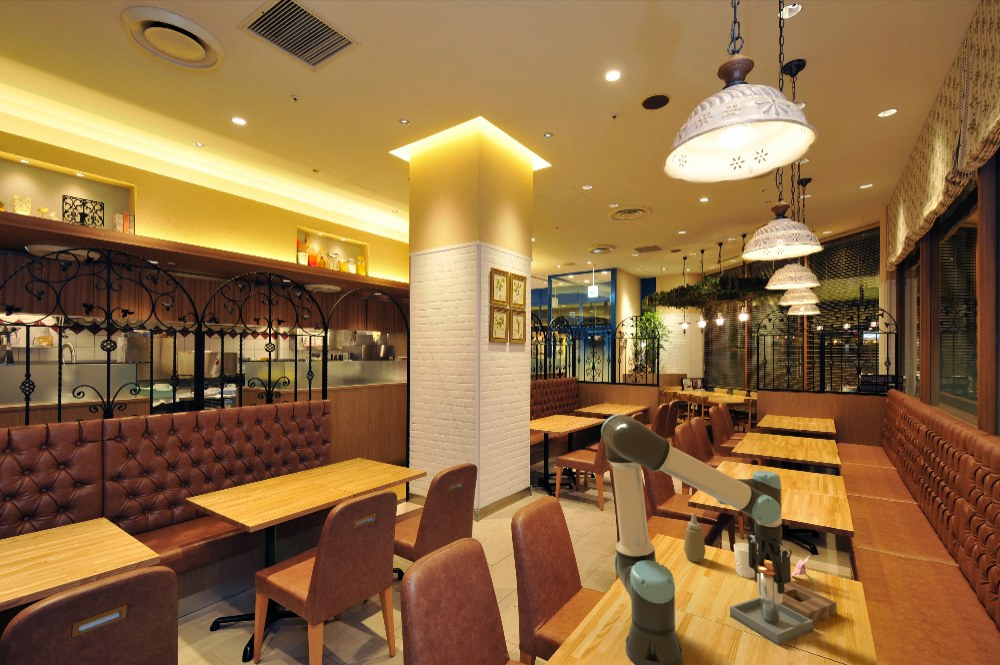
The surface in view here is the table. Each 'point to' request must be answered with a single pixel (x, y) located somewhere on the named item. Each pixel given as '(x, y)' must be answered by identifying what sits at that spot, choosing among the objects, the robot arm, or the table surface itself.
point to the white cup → (743, 560)
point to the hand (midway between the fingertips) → (769, 598)
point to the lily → (801, 569)
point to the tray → (776, 632)
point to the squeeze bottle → (694, 541)
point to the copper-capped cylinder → (768, 592)
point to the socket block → (808, 603)
